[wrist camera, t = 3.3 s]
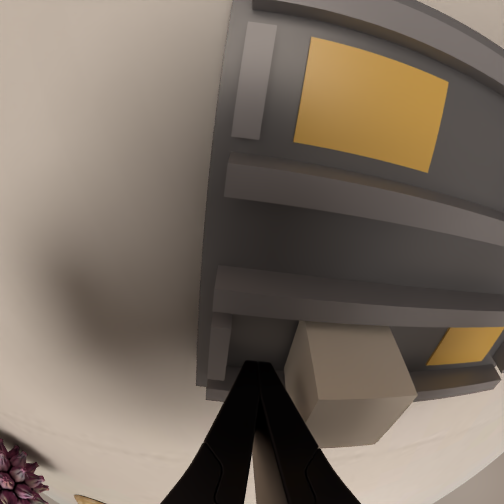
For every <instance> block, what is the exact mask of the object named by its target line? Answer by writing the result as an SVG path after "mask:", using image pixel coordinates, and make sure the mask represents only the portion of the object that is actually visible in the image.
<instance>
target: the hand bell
mask: <svg viewBox="0 0 504 504" xmlns="http://www.w3.org/2000/svg"><path fill="white" fill-rule="evenodd" d="M74 497H75V499H76V501H77V502H78V504H104V503H101V502H99V501H96V500H93V499H90V498H87V497H84V496H80V495H74Z"/></svg>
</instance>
